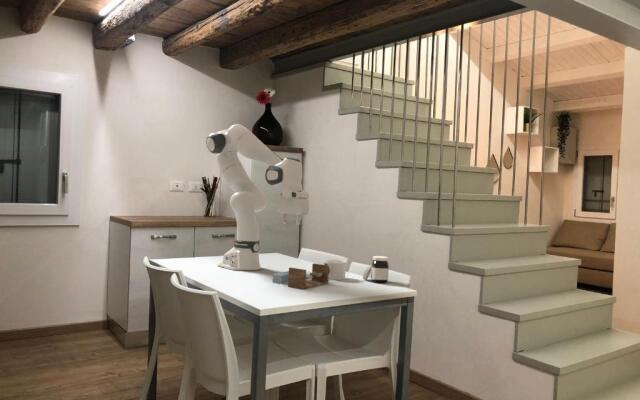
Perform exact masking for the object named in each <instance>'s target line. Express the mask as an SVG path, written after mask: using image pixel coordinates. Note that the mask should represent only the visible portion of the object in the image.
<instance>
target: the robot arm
mask: <svg viewBox="0 0 640 400" xmlns="http://www.w3.org/2000/svg"><path fill="white" fill-rule="evenodd" d="M206 147H207V149H208V151H209V152H210V153H211V154H216V162H217V165H218V167H219V170H220V172H221V174H222V176H223V178H224V180H225V182H226V183H227V186H228V187H229V189H231V190H232V191H233V192H234V193H233V194H232V195H231V197H230V199H229V205H230V208H231V209H232V211H233V213H234V216H235V220H236V240H232V243H233V247H232V248H231V249H229V250H228V251H227V252H225V253H224V255H222V262H220V263H218V264H217V267H220V268H224V269H228V270H232V271H256V270H261V267H262V266H261V263H260V253H259V250H260V240H259V239H260V224H259V222H258V221H257V217H256V213H259V212H262V211H263V210H265V209H266V207H267V206H268V197H267V196H266V195H265V194H264V193H263V192H262V191H261V190H260V189H259V188H258V187H257V185H255V183H254V182H253V181H252V180H251V178H250V177H249V175H248V173H247V171H246V170H245V168H244V165H243V164H242V162H241V160H240V159H239V157H238V153H239V154H240V155H242V156H243V157H245V158H246V159H249V160H253V161H254V160H255V161H258V162H262V163H265V164H266V165H268V167H267V169H266V170H265V174H264V177H265V178H264V179H265V181H266V182H267V184H268V185H270V186H273V187H282V193H280V194H279V195H278V198H277V201H276V208H275V209H276V213H277V214H281V218H282V224H283V225H286V224H288V223H289V219H288V218H287V216H288V215H296V220H295V221H294V222H295V223H294V225H295V226H300V225H301V221H302V219H303V216H307V215H308V214H309V207H310V206H309V205H310V204H309V198H310V194H309V193H308V192H307V191H305V190H304V189H303V184H302V181H303V163H302V160H300V159H299V158H295V157H285V158H284V159H282V158H281V157H280V156H279V155H278V154H276V153H275V152H274V151H273V150H271V149H270V148H269V147H268V146H267V145H266V144H264V142H262V140H260V139H259V138H258V137H257V136H256V135H255V134H254V133H253V132H252V131H251V130H250V129H248V128H247V127H245V126H244V125H243V124H240V123H235V124H233V125H231V126H230V127H229V128H225V129H223V130H219V131H215V132H212V133H210V134H209V135H207V137H206Z"/></svg>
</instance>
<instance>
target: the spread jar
mask: <svg viewBox="0 0 640 400" xmlns="http://www.w3.org/2000/svg"><path fill="white" fill-rule="evenodd" d="M388 261H389V257H388V256H382V255H373V256H372V262H371V265H368V266H367V267H366V269H365V270H364V272H363V276H362V279H363V280H365V281H367V280H368V278H369V277H370V280H371V282H372V283H376V284H386V283H388V281H389V270H390V267H389V262H388Z"/></svg>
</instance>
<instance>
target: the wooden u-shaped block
mask: <svg viewBox="0 0 640 400" xmlns="http://www.w3.org/2000/svg"><path fill="white" fill-rule="evenodd" d="M288 271H289V276H288V283H287V287H289V288H295V289H300V290H307V289H310V288H311V289H312V288H315V287H319V286H320V287H321V286H324V285H328V284H329V281H330V279H329V266H328V265H324V264H320V263H312V267H311V272H310V273H309V275H310V276H311V279H309V276H308V275H307V269H303V268H296V267H289V268H288Z"/></svg>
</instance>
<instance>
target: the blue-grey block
mask: <svg viewBox="0 0 640 400" xmlns="http://www.w3.org/2000/svg"><path fill="white" fill-rule="evenodd" d="M288 276H289V270H287V271H282V272H277V273H273V274H272V283H274V284H279V285H280V284H281V285H284V284H288Z"/></svg>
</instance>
